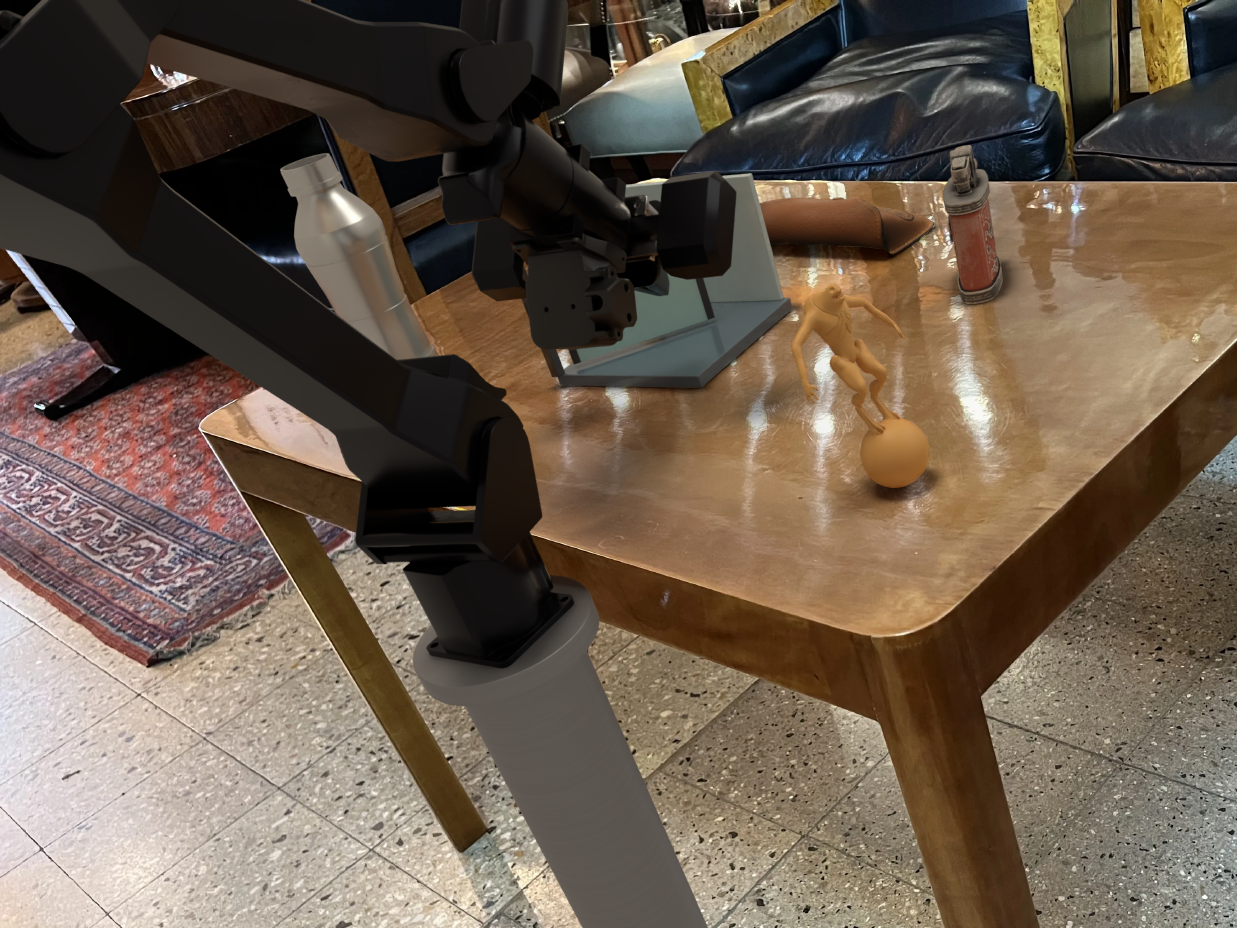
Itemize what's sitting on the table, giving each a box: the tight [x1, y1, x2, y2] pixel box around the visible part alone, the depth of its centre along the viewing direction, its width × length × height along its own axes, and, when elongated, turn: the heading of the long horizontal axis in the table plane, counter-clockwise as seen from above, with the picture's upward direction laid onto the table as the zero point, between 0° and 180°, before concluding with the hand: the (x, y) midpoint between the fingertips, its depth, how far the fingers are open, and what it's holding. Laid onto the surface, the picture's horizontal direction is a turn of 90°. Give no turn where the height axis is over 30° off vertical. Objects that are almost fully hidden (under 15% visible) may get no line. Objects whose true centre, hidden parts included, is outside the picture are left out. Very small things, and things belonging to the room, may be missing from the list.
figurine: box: [790, 283, 930, 489], centre depth 66 cm, size 8×6×12 cm
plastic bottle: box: [280, 153, 441, 360], centre depth 91 cm, size 6×7×20 cm
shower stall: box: [521, 173, 793, 389], centre depth 92 cm, size 14×14×11 cm
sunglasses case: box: [759, 196, 935, 256], centre depth 107 cm, size 18×7×7 cm, turn 52°
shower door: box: [567, 273, 715, 365], centre depth 92 cm, size 1×12×10 cm, turn 107°
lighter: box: [942, 144, 1004, 305], centre depth 89 cm, size 8×3×10 cm, turn 172°
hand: (664, 289), depth 86 cm, fingers closed
